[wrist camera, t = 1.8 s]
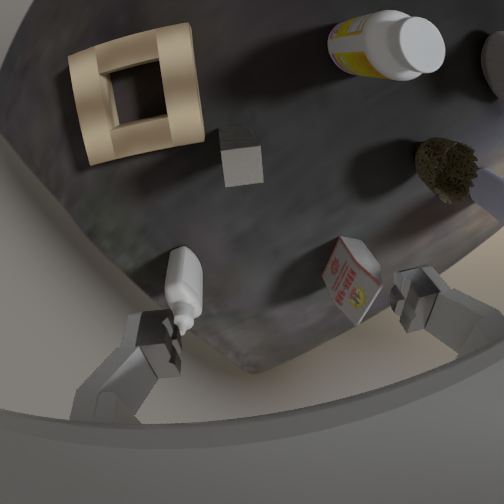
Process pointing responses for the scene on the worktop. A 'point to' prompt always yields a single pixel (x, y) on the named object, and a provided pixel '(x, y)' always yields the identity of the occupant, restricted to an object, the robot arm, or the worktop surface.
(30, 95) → the worktop surface
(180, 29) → the tan square ring
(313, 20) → the worktop surface
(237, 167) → the metal peg
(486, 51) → the coffee pot
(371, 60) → the supplement bottle
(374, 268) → the white and red box
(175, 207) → the worktop surface
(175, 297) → the eye dropper bottle
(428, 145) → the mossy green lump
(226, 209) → the worktop surface
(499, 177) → the spray bottle
